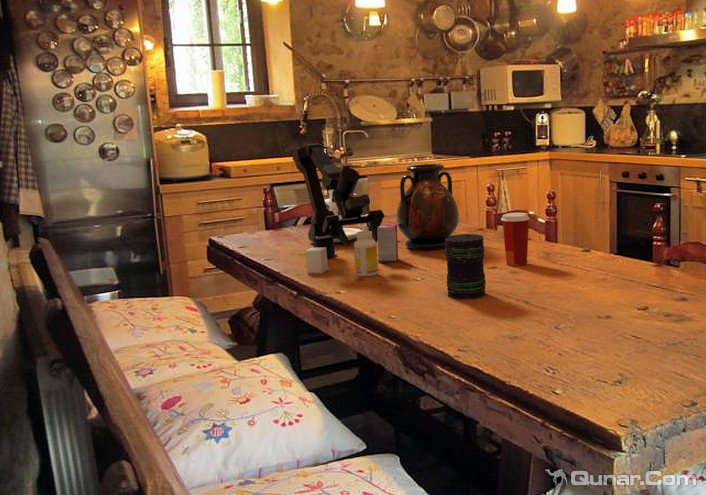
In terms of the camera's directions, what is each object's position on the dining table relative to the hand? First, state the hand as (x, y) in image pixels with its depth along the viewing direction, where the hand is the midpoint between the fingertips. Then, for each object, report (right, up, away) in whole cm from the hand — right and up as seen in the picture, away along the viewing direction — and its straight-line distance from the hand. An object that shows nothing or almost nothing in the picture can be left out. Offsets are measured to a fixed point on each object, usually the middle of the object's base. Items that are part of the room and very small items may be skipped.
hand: (362, 243), depth 227 cm
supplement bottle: (+1, -10, 0) cm, 10 cm away
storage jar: (+26, -14, -31) cm, 43 cm away
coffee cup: (+46, -6, +1) cm, 46 cm away
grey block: (-14, -9, +10) cm, 19 cm away
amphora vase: (+24, -1, +38) cm, 45 cm away
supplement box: (+9, -6, +18) cm, 21 cm away
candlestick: (-7, +1, +62) cm, 62 cm away
